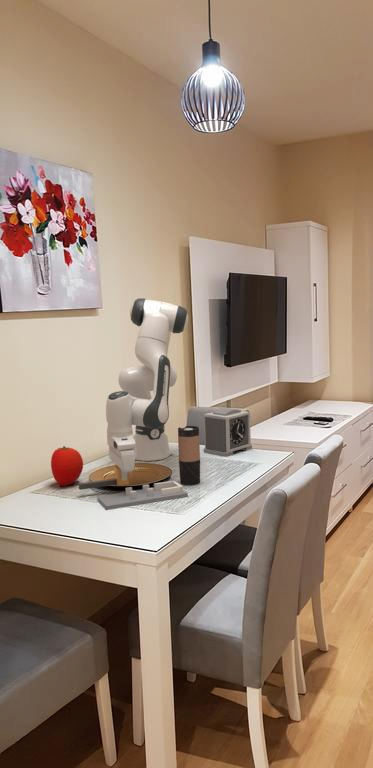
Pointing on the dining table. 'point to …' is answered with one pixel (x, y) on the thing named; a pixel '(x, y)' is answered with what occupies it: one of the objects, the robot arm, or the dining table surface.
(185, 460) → the travel mug
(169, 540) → the dining table surface
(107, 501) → the clip board
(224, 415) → the alarm clock
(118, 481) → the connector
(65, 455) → the red apple
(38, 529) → the dining table surface
